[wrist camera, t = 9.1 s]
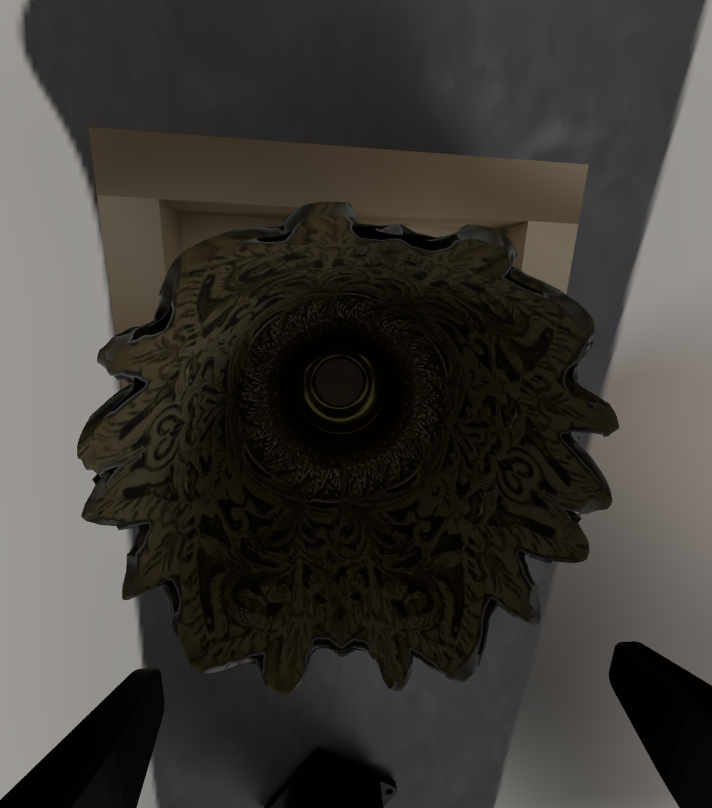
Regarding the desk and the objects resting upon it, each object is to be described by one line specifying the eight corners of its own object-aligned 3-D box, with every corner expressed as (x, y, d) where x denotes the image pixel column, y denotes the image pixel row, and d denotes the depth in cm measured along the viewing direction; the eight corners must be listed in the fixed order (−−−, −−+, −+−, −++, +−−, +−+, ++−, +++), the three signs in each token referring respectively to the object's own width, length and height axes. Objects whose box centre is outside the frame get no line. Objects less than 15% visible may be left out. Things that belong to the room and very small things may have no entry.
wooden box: (460, 488, 19) (519, 567, 14) (203, 490, 18) (146, 577, 12) (492, 215, 16) (588, 164, 10) (179, 196, 15) (87, 126, 9)
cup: (219, 468, 13) (72, 699, 5) (236, 248, 11) (55, 129, 4) (421, 490, 14) (540, 714, 6) (466, 290, 12) (709, 267, 5)
